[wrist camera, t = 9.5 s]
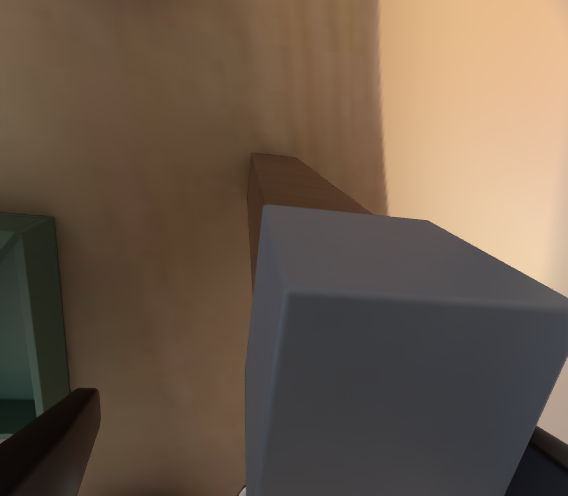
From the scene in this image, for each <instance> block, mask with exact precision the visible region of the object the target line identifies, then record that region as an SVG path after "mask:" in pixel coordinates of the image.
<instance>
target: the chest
mask: <svg viewBox="0 0 568 496" xmlns="http://www.w3.org/2000/svg"><path fill="white" fill-rule="evenodd" d="M0 231H11V232H15V233H16V235H17V237H18V242H17V243H16V244H15V246H14V247H13V248H12V250H11V251H10V252H9V253H8V255H7V256H6V257H5V258H4V260H3V261H2V262H1V264H0V439H8V438H9V437H11V436H12V435H13V434H15V433H16V432H18V431H19V430H20V429H22V428H23V427H24V426H26V425H27V424H29V423H30V422H31V421H33V420H34V419H35V418H37V417H38V416H40V415H41V414H42V413H44V412H45V411H47V410H48V409H49V408H51V407H52V406H53V405H55V404H56V403H58V402H59V401H60V400H62V399H63V398H64V397H66V396H67V395H69V394H70V388H69V377H68V366H67V355H66V344H65V333H64V323H63V312H62V301H61V290H60V279H59V268H58V257H57V246H56V236H55V225H54V217H49V216H37V215H25V214H13V213H1V212H0Z"/></svg>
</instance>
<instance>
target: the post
mask: <svg viewBox="0 0 568 496" xmlns="http://www.w3.org/2000/svg"><path fill="white" fill-rule="evenodd" d="M268 204H270V205H280V206H290V207H300V208H310V209H320V210H329V211H339V212H349V213H359V214H369V215H373V214H372V213H370V212H369V211H368V210H366V209H365V208H363V207H362V206H361V205H359V204H358V203H357V202H355V201H354V200H353V199H351V198H350V197H349V196H347V195H346V194H345V193H343V192H342V191H341V190H339V189H338V188H336V187H335V186H334V185H332V184H331V183H330V182H328V181H327V180H326V179H324V178H323V177H322V176H320V175H319V174H318V173H316V172H315V171H313V170H312V169H311V168H309V167H308V166H307V165H305V164H304V163H303V162H301V161H300V160H299V159H297V158H294V157H285V156H276V155H267V154H259V153H251V159H250V171H249V182H248V193H247V205H248V222H249V239H250V257H251V274H252V292H253V293H254V284H255V275H256V266H257V256H258V247H259V238H260V229H261V220H262V211H263V207H264V206H265V205H268Z"/></svg>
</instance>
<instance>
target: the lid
mask: <svg viewBox="0 0 568 496" xmlns="http://www.w3.org/2000/svg"><path fill="white" fill-rule="evenodd" d="M17 242H18V237H17V235H16V233H15V232H11V231H0V264H1V262H2V261H3V260H4V258H5V257H6V256H7V255H8V253H9V252H10V251H11V250H12V248H13V247H14V246H15V244H16V243H17Z"/></svg>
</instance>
